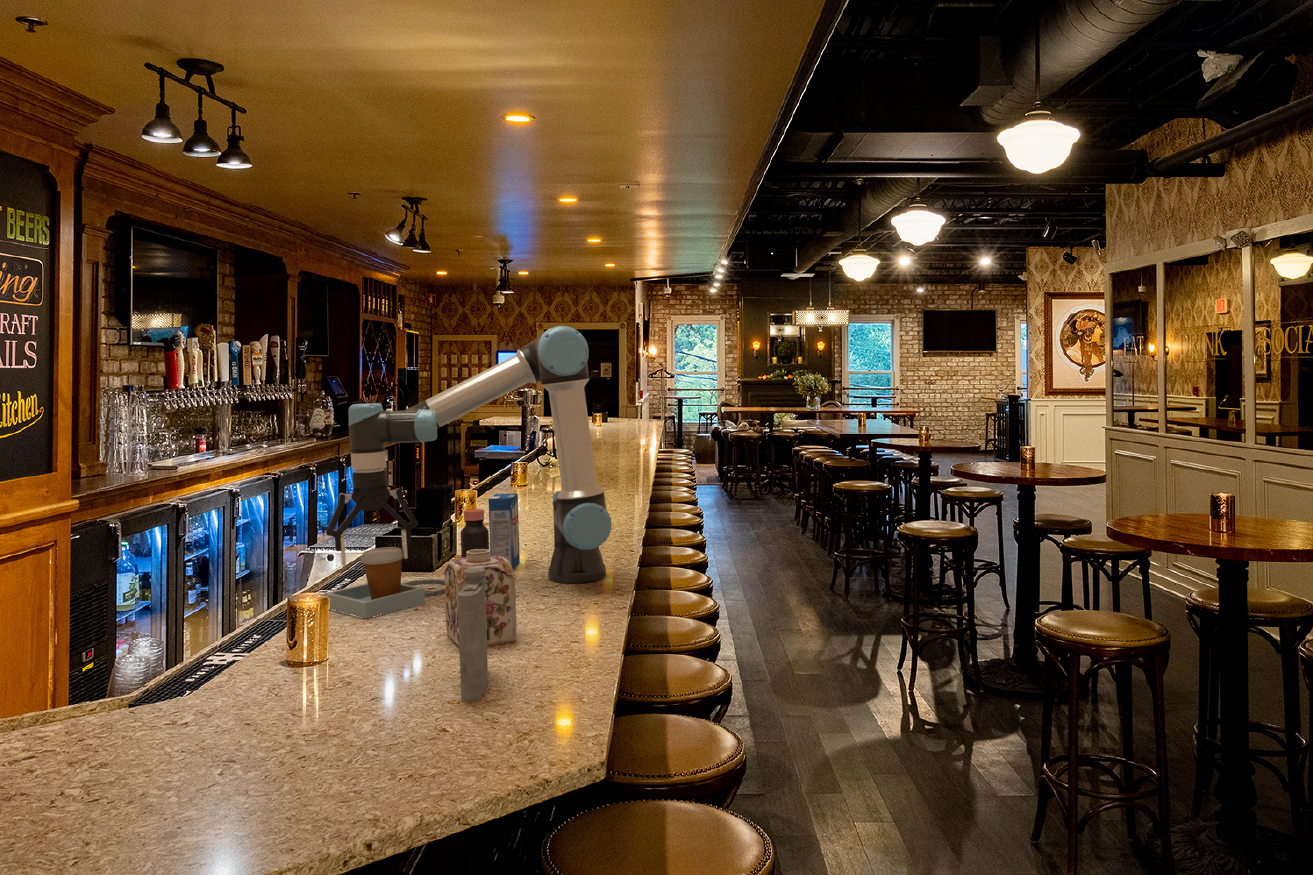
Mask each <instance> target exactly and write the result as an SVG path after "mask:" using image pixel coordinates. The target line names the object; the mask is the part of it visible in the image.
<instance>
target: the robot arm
mask: <svg viewBox="0 0 1313 875" xmlns="http://www.w3.org/2000/svg"><path fill="white" fill-rule="evenodd" d="M589 352H590V351H589V345H588V341H587V340H586V338H585V337H584V336H583V334H582V333H581V332H579V331H578V330H576V329H575V328H573V327H570V326H567V325H566V326H565V325H557V326H554V327H553V326H552V327H551V328H549V329H547V330H545V331H544V332H542V333H541V334H540V335H538V336H537V337H536V338H535V339H534V340H532V341H531V342H529V343H528V344H527V345H524V346H523V347H520V348H519V349H517V351H516V354H515V355H514V356H511V357H509V358H507V359H506V360H504V361H501V362H500V363H497V364H495V365H493V366H491V367H490V368H488V369H485V370H483V371H482V372H480V373H477V374H476V375H473V376H472V377H469V378H468V379H464V381H461V382H459V383H458V384H455V385H453V386H452V387H450V388H447V389H445V390H443V391H441V392H440V393H438V394H435V395H434V396H432V397H430V398H427V399H425V400H423V401H421V402H419V403H417V404H415V405H413V406H411V407H408V408H406V409H404V410H391V411H390V410H384V409H383V405H382V403H379V402H375V403H355V404H352V405H350V406H349V407H348V424H347V425H348V435H349V446H350V448H349V449H350V459H351V460H350V463H351V470H352V471H353V472H352V474H351V478H352V493H343V492H341V493H339V495H338V503H337V505H336V508H335V509H334V512H333V515H332V517H331V519H330V521H329V523H328V526H327V528H326V530H325V532H326V533H325V534H326V536H330V537H333V538H334V543H335V544H334V545H335V546H334V547H335V550H336V552H340V556H341V566H342V567H345V566H347V561H346V560H347V559H346V546H345V545H346V544H345V536H344V535H343V533H344V532H345V531H346V529H348V527H349V526H350V525H351V523H352V522H353V520H354V519H355V518H356V517H357V516H358V514H359V513H360V512H361V511H364V512H370V511H380V510H381V509H382V508H383V509H384V510H385V511H386V512H387V513H388V514H389V515H390V516H391V517H393V519H395V520H396V521H397V522H398V524H400V525H401V526H402V527H403V528H404V529H400V530H401V531H400V532H401V533H400V534H401V546H402V548H401V550H402V553H403V554H404V555H403V559H405V560H407V559H408V558H409V557H408V544H411V543H412V529H414V528H417V527H418V526H419V522H418V520H417V518H416V516H415V515H414V513H413V512H412V511H411V509H410V507H409V506H408V503H407V502H406V500H405V499H404V496H403V490H402V489H401V488H398V487H397V488H396V489H392V490H391V489H390V490H389V488H388V475H387V471H386V470H385V468H386V467H387V461H386V460H387V459H386V448H385V447H386V446H385V445H386V444H399V443H402V444H403V443H405V444H406V443H407V444H408V443H424V442H425V443H426V442H433V441H436V440H437V438H438V429H439V428H441V427H443V426H445V425H447V424H449V423H451V422H453V421H455V420H457V419H459V418H461V417H464V416H465V415H467V414H470V412H473V411H474V410H477V409H479V408H482V406H484V405H486V404H489V403H490V402H493V401H495V400H497V399H498V398H501V397H503V396H504V395H506V394H509V393H510V392H513V391H514V390H517V389H519V388H521V387H523V386H525V385H526V384H529V383H531V384H537V383H539V382H540V384H541V387H542V388H544V389H545V390H546V391H547V392H548V396H549V404H550V411H551V418H552V425H553V431H554V438H555V439H554V440H555V448H556V454H557V462H558V463H557V464H558V469H559V476H560V484H561V489H560V490H559V491H555V492H554V493H553V496H552V498H553V499H552V502H551V503H552V508H553V510H552V512H553V513H552V514H553V540H554V542H553V543H554V548H553V552H552V556H551V559H550V563H549V564H550V566H548V570H547V572H548V573H547V574H548V579H549V580H550V581H552V582H556V583H562V584H582V583H584V584H585V583H591V582H596V581H601V580H602V579H604V578H606V576H607V567H606V564H605V563H604V559H603V557H602V552H601V549H600V546H602V545H603V544H605V542H606V541H607V540H608V538H609V537H610V534H611V531H612V519H611V518H612V517H611V516H610V513H609V512H608V509H607V503H606V496H605V490H604V489H603V487H601V486H599V484H598V483H597V475H596V468H595V460H594V451H593V446H592V438H591V437H592V436H591V431H590V429H591V428H590V423H589V417H588V406H587V400H586V399H587V398H586V392H585V387H586V385H587V383H588V382H589V381H590V375H589V367H588V361H589V356H590V355H589ZM390 496H392V497H393V499H394V500H397V502H398V503H399V505H400V507H401V509H402V510H403V511H404V513H405V515H406V516H407V518H408V520H409V522H407V521H406V520H405V519H404V518H403V517H402V516H401V515H399V513H397V511H396V510H394V508H392V507H391V506H390V505H389V504H388V503H387V501H388V499H389V498H390ZM351 500H352V501H353V503H355V504H354V507H353V508H352V509H351V510H350V511H349V513H348V515H347V516H346V517H345V519H344V520H343V521H342V523H340V525H339V526H338V528H336V525H337V523H338V521H339V519H340V517H341V514H342V512H343V510H344V507H345V505H346V504H348V503H349V501H351ZM335 528H336V530H335Z"/></svg>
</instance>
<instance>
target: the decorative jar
mask: <svg viewBox="0 0 1313 875" xmlns="http://www.w3.org/2000/svg"><path fill="white" fill-rule="evenodd" d="M470 568H483V569H485V575H483V576H484V578H485V602H486V632H487V647H489V646H494V645H500V644H506V643H507V644H508V643H512V642H516V640H517V598H516V597H517V594H516V590H517V589H516V577H515V576H516V575H515V570H514V571H513V569H512V567H511V564H510V562H509V560H507V559H506V558H504V557H499V556H490V549H489V550H487V549H475V550H469V551H467V552H466V557H463V558H461V557H460V558H457V559H456V558H455V559H453V560H451V561H449V562H448V564H447V565H446V567H445V571H444V572H443V573H444V580H445V585H444V588H445V593H444V598H445V601H444V603H445V625H446V626H445V627H446V634H447V636H448V637H449V638H450V639H451V640H452V641H453V642H454V643H455V645H456V646H457V647H458V648H459V624H458V596H457V594H458V593H459V592H460V591H461V590H462V589H463V588H464V586H465V576H464V570H466V569H470Z"/></svg>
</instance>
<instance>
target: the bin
mask: <svg viewBox="0 0 1313 875" xmlns="http://www.w3.org/2000/svg"><path fill="white" fill-rule="evenodd" d="M403 583H404V582H401V589H400V593H397V594H393V595H389V596H385V597H382V598H378V599H374V600H371V596H370V591H369V586H368V582H366V583H362V584H359V585H358V584H357V585H353V586H350V587H345V588H344V587H343V588H341V589H336V590H332V591H327V592H324V593H323V596H324V595H328V596H329V598H330V610H329V611H331V612H333V611H332V609H333V610H336V611H340V612H344V613H347V614H353V615H356V616H359V617H362V618H365V619H364V620H367V619H366V618H369V619H371V618H370V617H373V616H376V617H378V616H377V615H380V614H384V615H388V614H390V612H391V613H394V612H398V611H401V610H400V609H402V610H404V609H403V608H405V609H408V608H407V607H409V608H412V607H413V608H414V607H417V606H420V605H422V604H423V605H424V604H425V603H426V602H425V601H426V598H425V597H426V596H425V593H424V592H425V588H424V587H422V586H421V587H420V586H416V585H407V584H403ZM397 610H398V611H397ZM393 611H394V612H393ZM380 616H381V615H380ZM362 618H361V619H362ZM373 618H374V617H373Z"/></svg>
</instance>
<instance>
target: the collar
mask: <svg viewBox="0 0 1313 875" xmlns="http://www.w3.org/2000/svg"><path fill="white" fill-rule="evenodd" d="M402 583H403V584H407V585H412V586H416V585H425V584H438V585H444V586H445V579H435V578H434V579H430V578H429V579H418V580H410V581H405V582H402ZM424 593H425V597H433V596H434V597H435V596H438V595H442V594H445V587H444V588H442V589H436V590H433V591H426V592H425V591H424Z"/></svg>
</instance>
